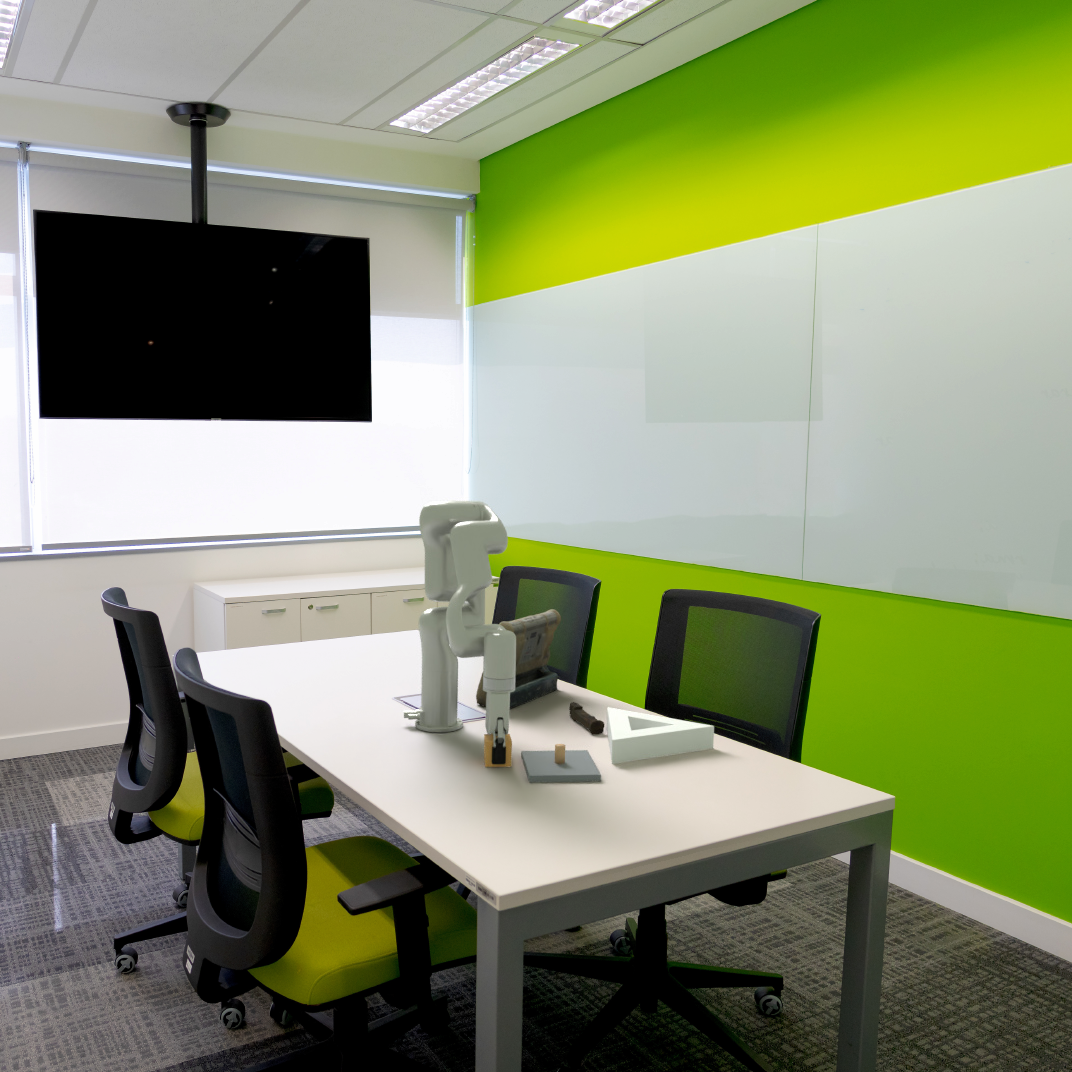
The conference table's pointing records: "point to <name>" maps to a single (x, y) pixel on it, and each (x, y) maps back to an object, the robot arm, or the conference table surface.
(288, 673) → the conference table surface
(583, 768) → the peg board
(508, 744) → the orange cube
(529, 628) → the tablet
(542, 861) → the conference table surface
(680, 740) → the triangle block
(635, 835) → the conference table surface
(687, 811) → the conference table surface
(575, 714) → the brown piece
